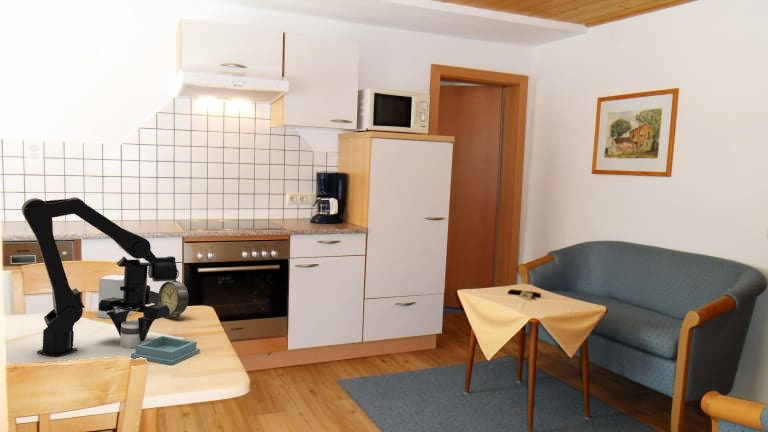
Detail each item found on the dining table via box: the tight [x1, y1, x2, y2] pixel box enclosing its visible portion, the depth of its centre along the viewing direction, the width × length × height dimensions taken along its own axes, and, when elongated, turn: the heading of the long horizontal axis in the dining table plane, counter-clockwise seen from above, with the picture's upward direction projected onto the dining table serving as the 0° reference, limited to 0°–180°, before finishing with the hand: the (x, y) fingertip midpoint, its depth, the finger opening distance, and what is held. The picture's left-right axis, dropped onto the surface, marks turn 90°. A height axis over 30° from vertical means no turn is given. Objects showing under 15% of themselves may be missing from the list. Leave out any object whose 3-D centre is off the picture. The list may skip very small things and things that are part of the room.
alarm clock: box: [158, 268, 190, 321], centre depth 188 cm, size 11×5×16 cm, turn 54°
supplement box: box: [97, 274, 132, 319], centre depth 185 cm, size 7×7×13 cm
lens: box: [119, 319, 146, 349], centre depth 157 cm, size 6×6×6 cm
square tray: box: [130, 335, 201, 366], centre depth 151 cm, size 12×12×3 cm
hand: (132, 339), depth 157 cm, fingers closed on lens, 6 cm apart
